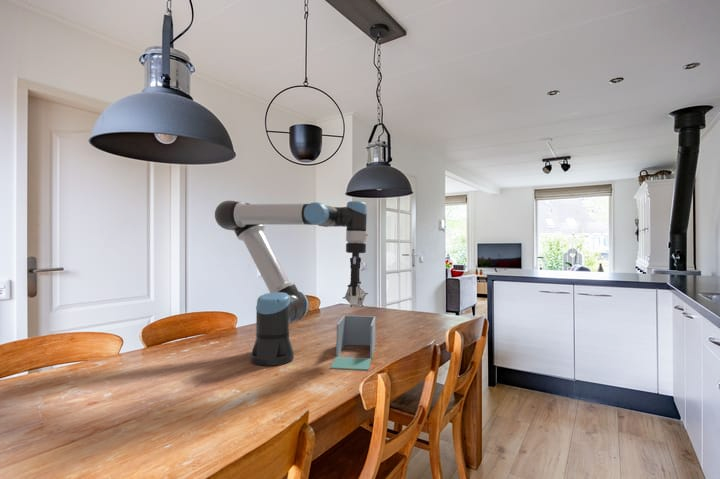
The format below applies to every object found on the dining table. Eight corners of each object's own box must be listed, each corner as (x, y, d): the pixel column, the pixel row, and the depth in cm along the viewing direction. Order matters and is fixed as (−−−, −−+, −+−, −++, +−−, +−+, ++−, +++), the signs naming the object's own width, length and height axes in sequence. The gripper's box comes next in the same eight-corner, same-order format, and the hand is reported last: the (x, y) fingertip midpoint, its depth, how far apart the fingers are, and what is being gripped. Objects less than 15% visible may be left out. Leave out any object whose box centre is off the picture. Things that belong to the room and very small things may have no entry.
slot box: (336, 356, 138) (336, 324, 139) (343, 344, 156) (343, 315, 156) (372, 358, 137) (372, 325, 137) (375, 345, 155) (375, 316, 155)
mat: (330, 368, 125) (330, 367, 125) (336, 357, 137) (336, 356, 137) (368, 370, 124) (368, 369, 124) (371, 359, 136) (371, 358, 136)
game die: (359, 316, 139) (367, 297, 134) (338, 308, 139) (345, 288, 134) (363, 302, 147) (372, 283, 142) (343, 294, 147) (351, 275, 142)
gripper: (364, 242, 130) (363, 307, 130) (366, 242, 151) (365, 298, 150) (343, 242, 130) (341, 306, 130) (348, 242, 151) (347, 298, 151)
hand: (354, 302), depth 140 cm, fingers closed on game die, 8 cm apart
